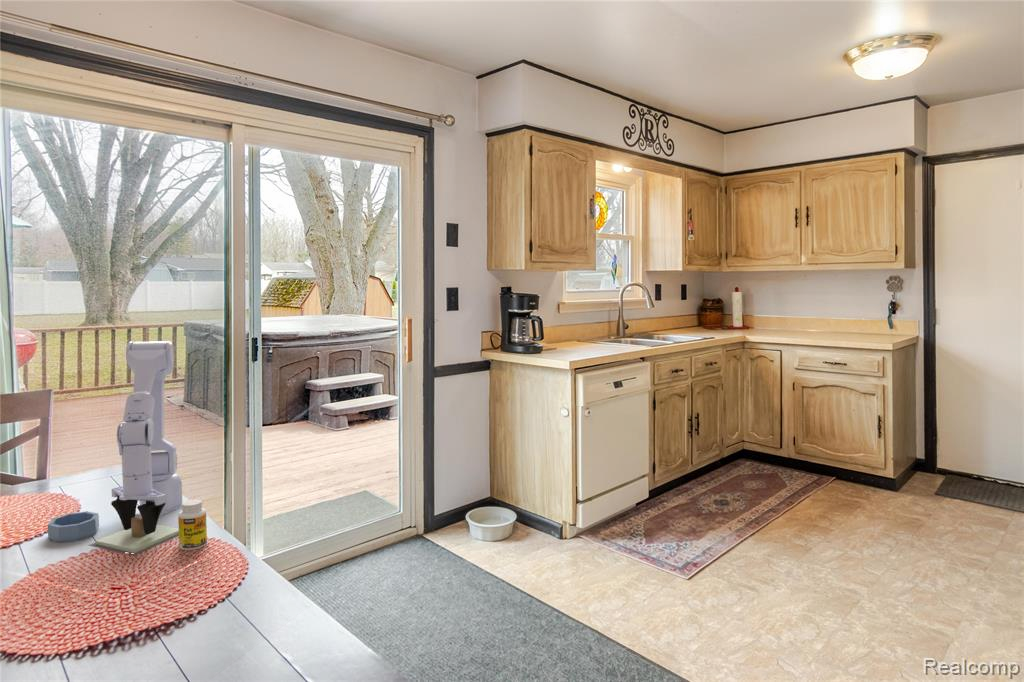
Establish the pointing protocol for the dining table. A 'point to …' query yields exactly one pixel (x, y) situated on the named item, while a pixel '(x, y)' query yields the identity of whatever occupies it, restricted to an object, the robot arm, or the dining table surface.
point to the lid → (137, 537)
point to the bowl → (73, 526)
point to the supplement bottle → (192, 525)
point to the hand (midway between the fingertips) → (139, 530)
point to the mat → (131, 552)
